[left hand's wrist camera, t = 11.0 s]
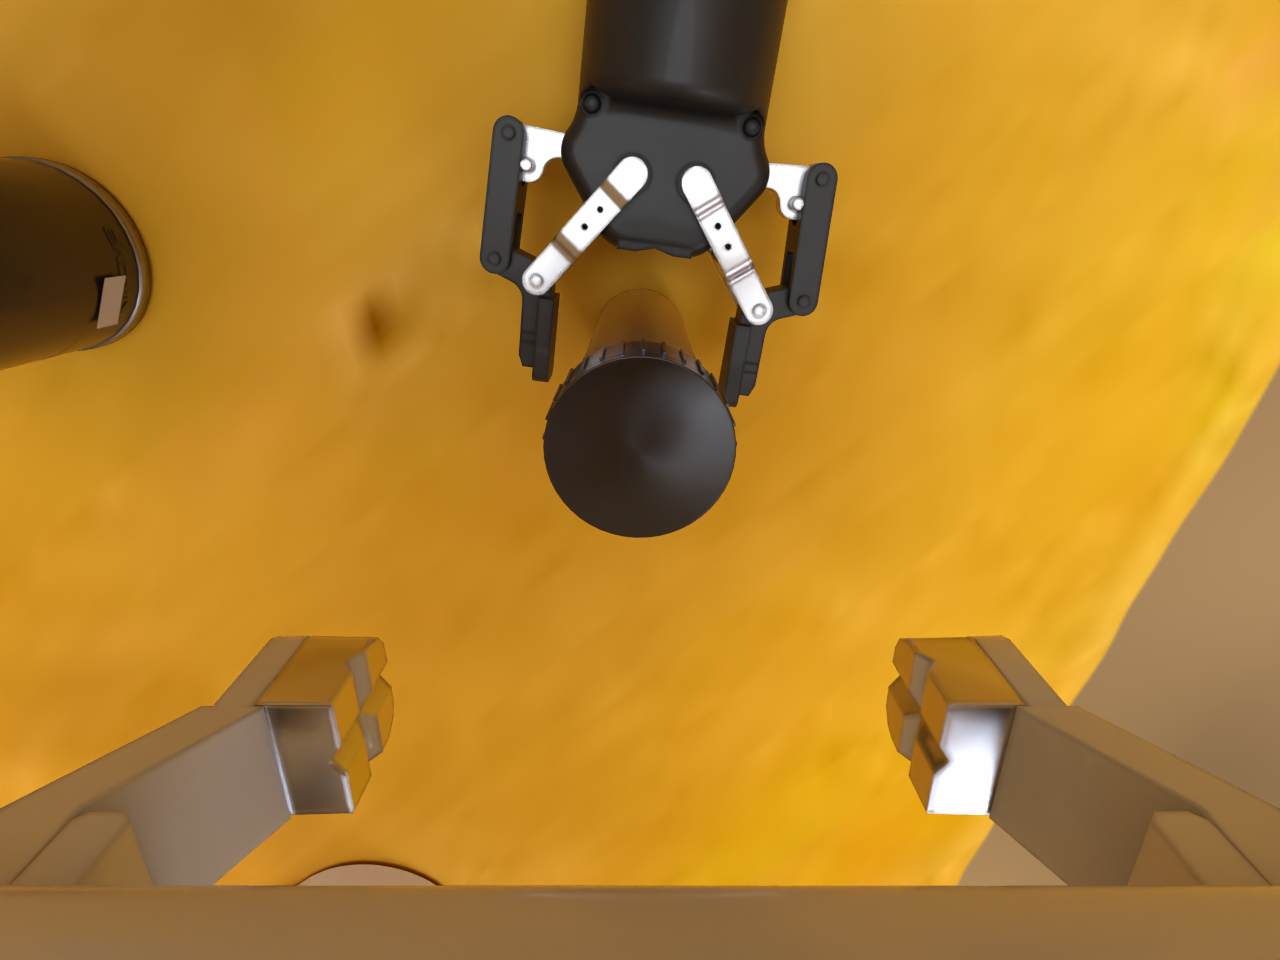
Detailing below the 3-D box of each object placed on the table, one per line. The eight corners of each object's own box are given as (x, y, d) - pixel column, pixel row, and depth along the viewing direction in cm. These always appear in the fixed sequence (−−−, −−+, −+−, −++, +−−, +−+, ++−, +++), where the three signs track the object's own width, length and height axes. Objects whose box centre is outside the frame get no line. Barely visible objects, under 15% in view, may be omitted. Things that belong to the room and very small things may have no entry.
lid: (664, 539, 23) (666, 572, 21) (517, 452, 22) (504, 478, 20) (765, 402, 21) (778, 423, 19) (611, 300, 20) (608, 311, 18)
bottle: (652, 392, 39) (662, 547, 21) (579, 346, 38) (528, 468, 20) (700, 320, 37) (753, 423, 20) (626, 270, 36) (614, 333, 19)
